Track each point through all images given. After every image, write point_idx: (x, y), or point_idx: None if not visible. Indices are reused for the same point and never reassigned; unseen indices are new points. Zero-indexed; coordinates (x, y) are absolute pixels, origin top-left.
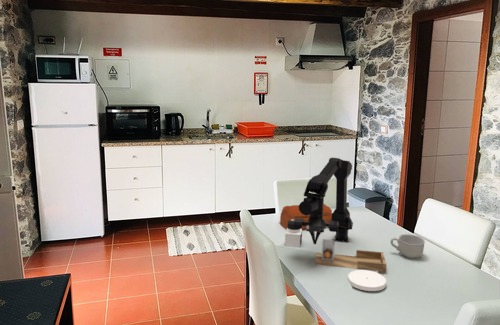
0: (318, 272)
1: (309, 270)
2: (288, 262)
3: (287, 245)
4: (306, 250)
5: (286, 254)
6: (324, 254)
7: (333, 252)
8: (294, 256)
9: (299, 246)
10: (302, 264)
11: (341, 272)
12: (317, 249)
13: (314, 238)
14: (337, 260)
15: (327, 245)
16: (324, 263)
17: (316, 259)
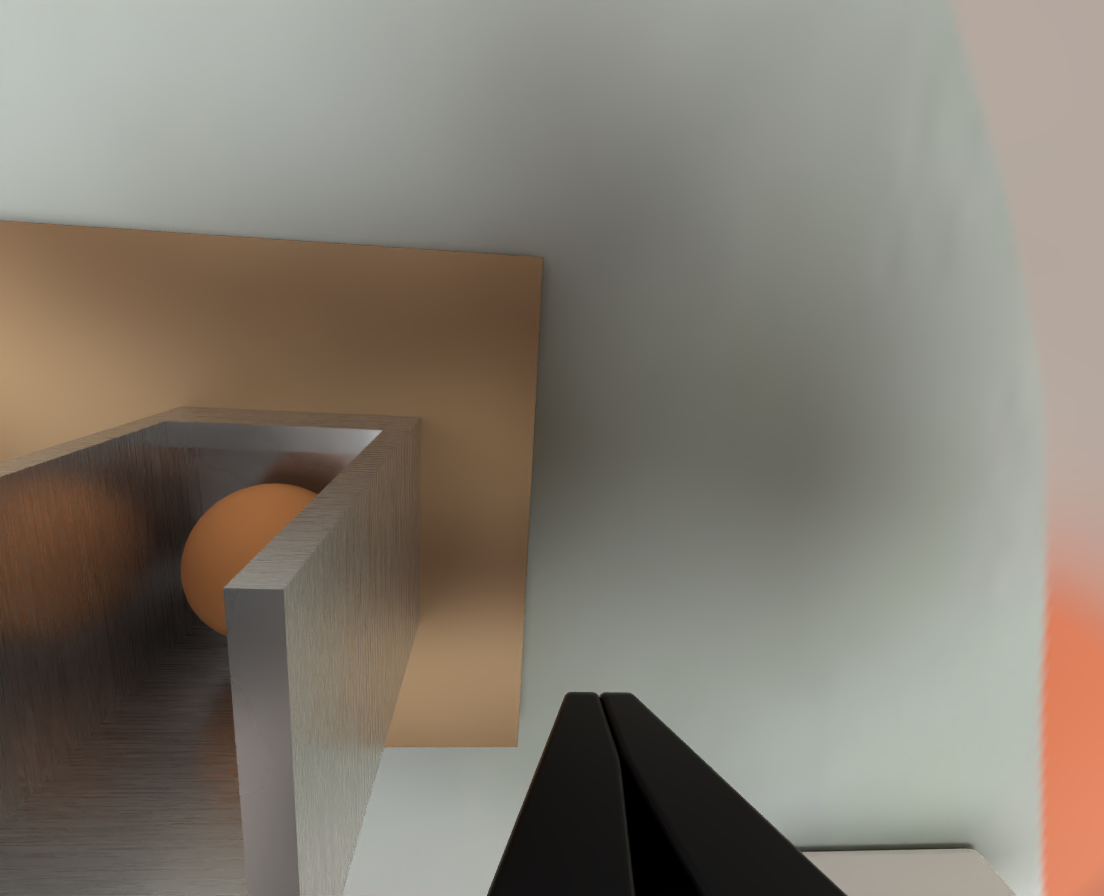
0: (468, 8)
1: (639, 77)
2: (983, 356)
3: (970, 882)
4: None
5: (978, 639)
6: None
7: (20, 460)
8: (863, 596)
9: None
10: (754, 319)
11: (10, 82)
12: None
13: (682, 868)
14: None
15: (210, 791)
16: (356, 334)
17: (513, 483)
